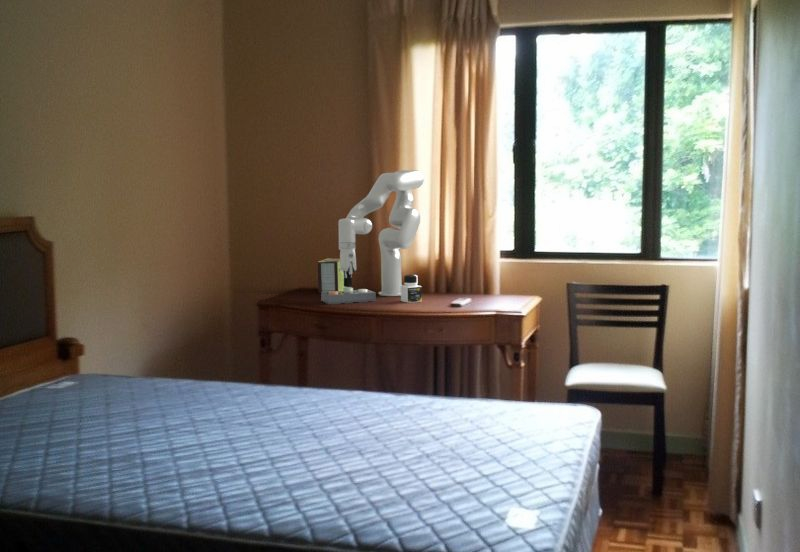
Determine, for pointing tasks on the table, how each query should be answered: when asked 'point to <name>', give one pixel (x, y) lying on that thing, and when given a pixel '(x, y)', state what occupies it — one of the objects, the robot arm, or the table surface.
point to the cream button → (362, 290)
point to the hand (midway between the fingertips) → (347, 286)
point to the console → (348, 297)
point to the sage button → (348, 290)
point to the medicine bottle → (411, 289)
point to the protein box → (330, 276)
